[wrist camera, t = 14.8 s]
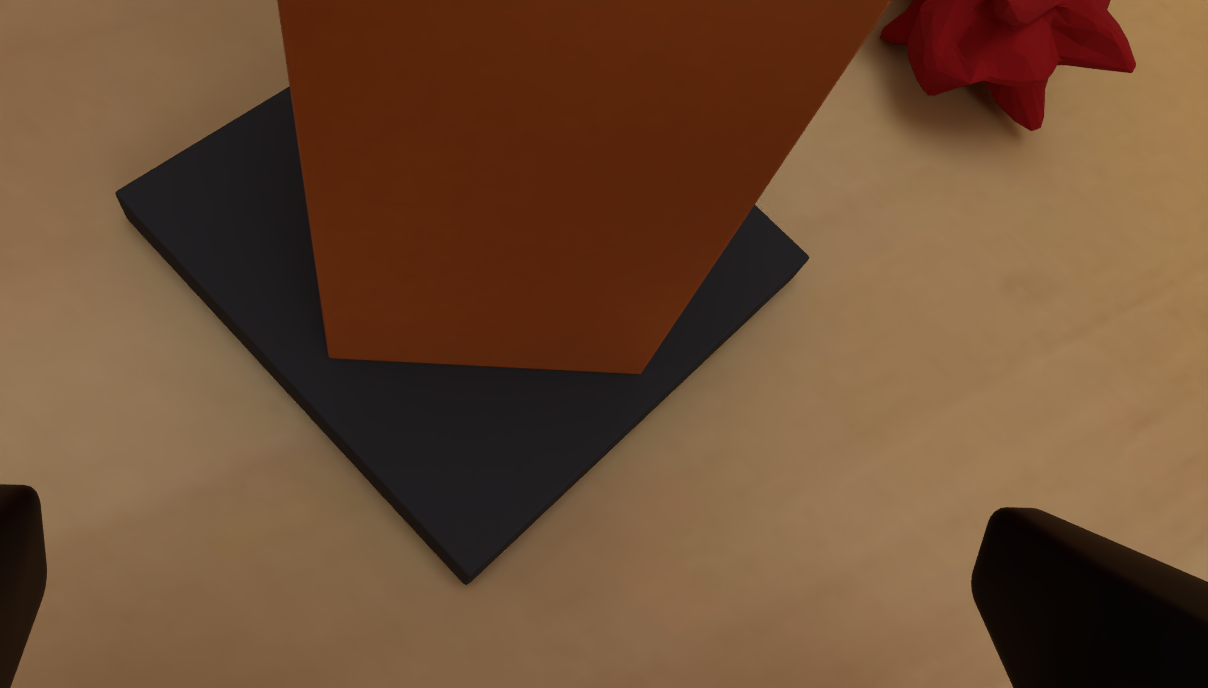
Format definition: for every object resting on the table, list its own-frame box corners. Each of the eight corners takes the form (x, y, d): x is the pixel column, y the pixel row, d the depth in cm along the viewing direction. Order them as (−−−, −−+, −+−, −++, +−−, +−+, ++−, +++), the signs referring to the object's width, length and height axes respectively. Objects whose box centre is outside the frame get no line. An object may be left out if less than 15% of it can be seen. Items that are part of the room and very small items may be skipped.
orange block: (641, 375, 19) (1035, -209, 8) (328, 359, 18) (222, -362, 6) (631, 122, 22) (922, -627, 10) (352, 93, 20) (307, -796, 9)
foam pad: (465, 586, 18) (469, 577, 17) (125, 217, 19) (112, 191, 19) (793, 276, 22) (811, 256, 21) (493, -11, 24) (497, -42, 23)
